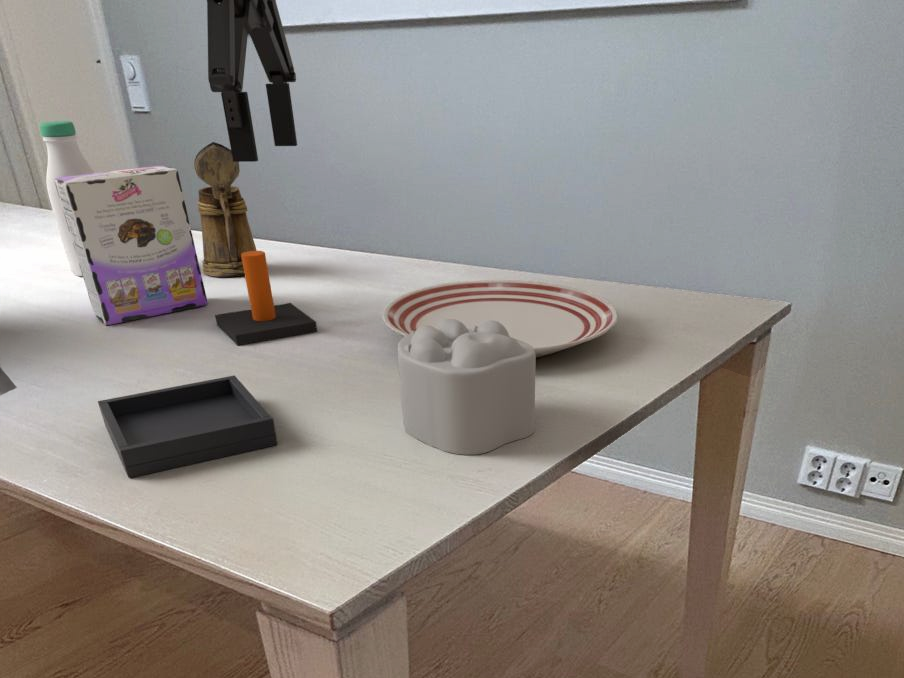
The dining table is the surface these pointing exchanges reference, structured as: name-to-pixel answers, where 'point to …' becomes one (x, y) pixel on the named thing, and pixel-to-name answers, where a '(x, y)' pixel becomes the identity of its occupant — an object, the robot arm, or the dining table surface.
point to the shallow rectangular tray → (186, 425)
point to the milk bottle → (63, 175)
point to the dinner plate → (508, 311)
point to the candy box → (133, 242)
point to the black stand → (262, 309)
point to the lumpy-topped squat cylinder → (466, 386)
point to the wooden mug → (222, 213)
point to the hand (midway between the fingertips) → (267, 153)
